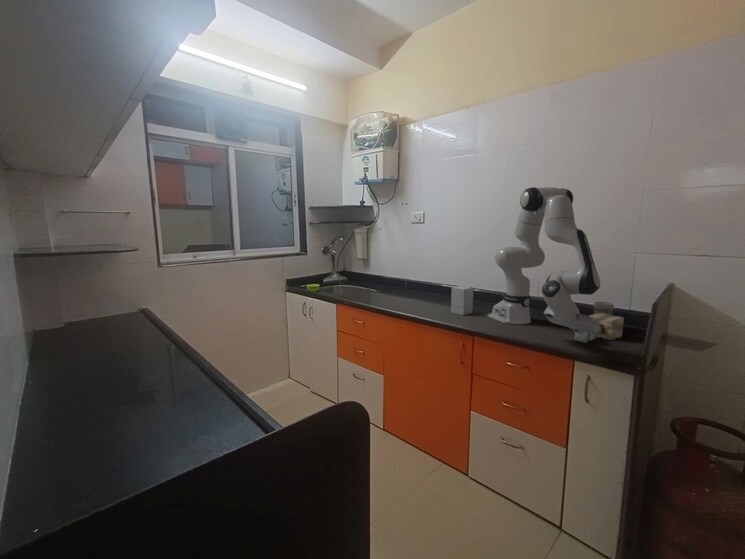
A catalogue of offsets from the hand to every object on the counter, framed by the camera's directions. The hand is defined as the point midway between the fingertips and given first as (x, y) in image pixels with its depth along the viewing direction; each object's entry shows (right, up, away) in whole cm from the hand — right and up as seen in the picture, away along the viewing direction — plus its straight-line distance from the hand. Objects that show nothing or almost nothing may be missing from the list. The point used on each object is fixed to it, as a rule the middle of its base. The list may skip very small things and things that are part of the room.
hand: (578, 331), depth 145 cm
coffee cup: (+25, -1, +22) cm, 33 cm away
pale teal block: (+5, -3, +3) cm, 6 cm away
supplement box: (-36, +3, +52) cm, 64 cm away
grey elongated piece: (+9, -4, +5) cm, 11 cm away
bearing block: (+18, -3, +10) cm, 20 cm away
